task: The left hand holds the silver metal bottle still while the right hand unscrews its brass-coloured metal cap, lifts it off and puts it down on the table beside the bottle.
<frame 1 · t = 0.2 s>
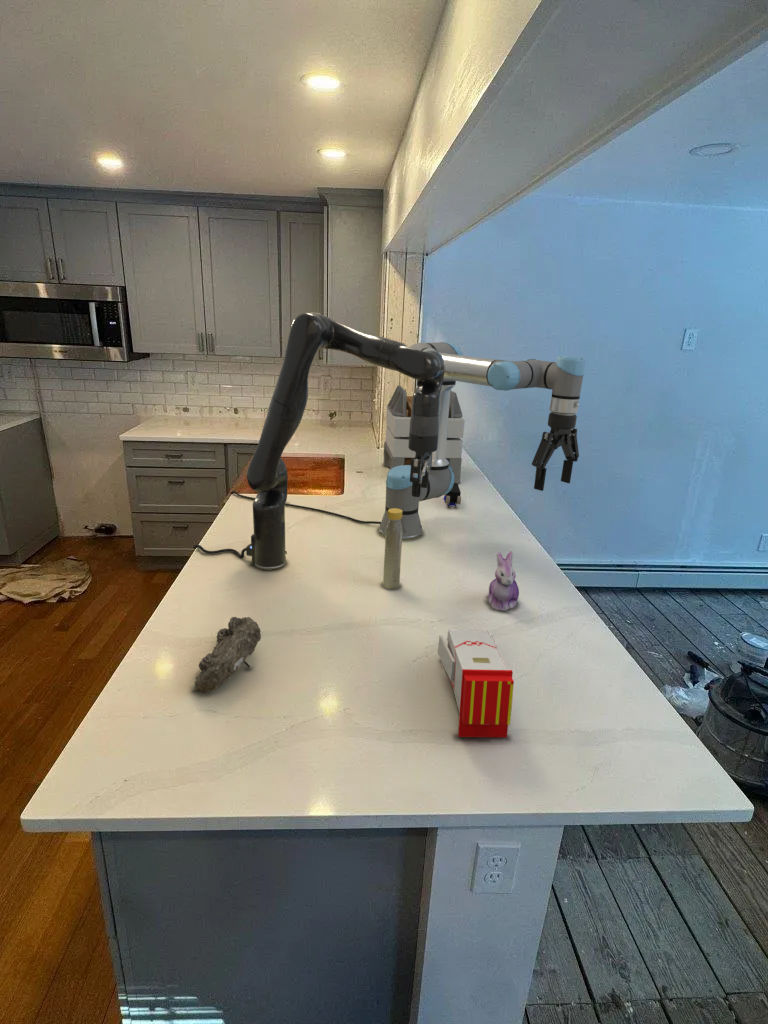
left hand: (419, 491, 151), 29 cm above the counter, tool pointing down, fingers open, 8 cm apart
right hand: (552, 485, 166), 28 cm above the counter, tool pointing down, fingers open, 13 cm apart
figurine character: (450, 504, 233), on the counter
toy: (469, 691, 119), on the counter
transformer: (419, 473, 275), on the counter
figurine: (502, 603, 155), on the counter
cap: (395, 511, 155), point 23 cm above the counter, screwed on, not yet turned
bottle: (391, 585, 163), on the counter
fossil: (232, 665, 124), on the counter
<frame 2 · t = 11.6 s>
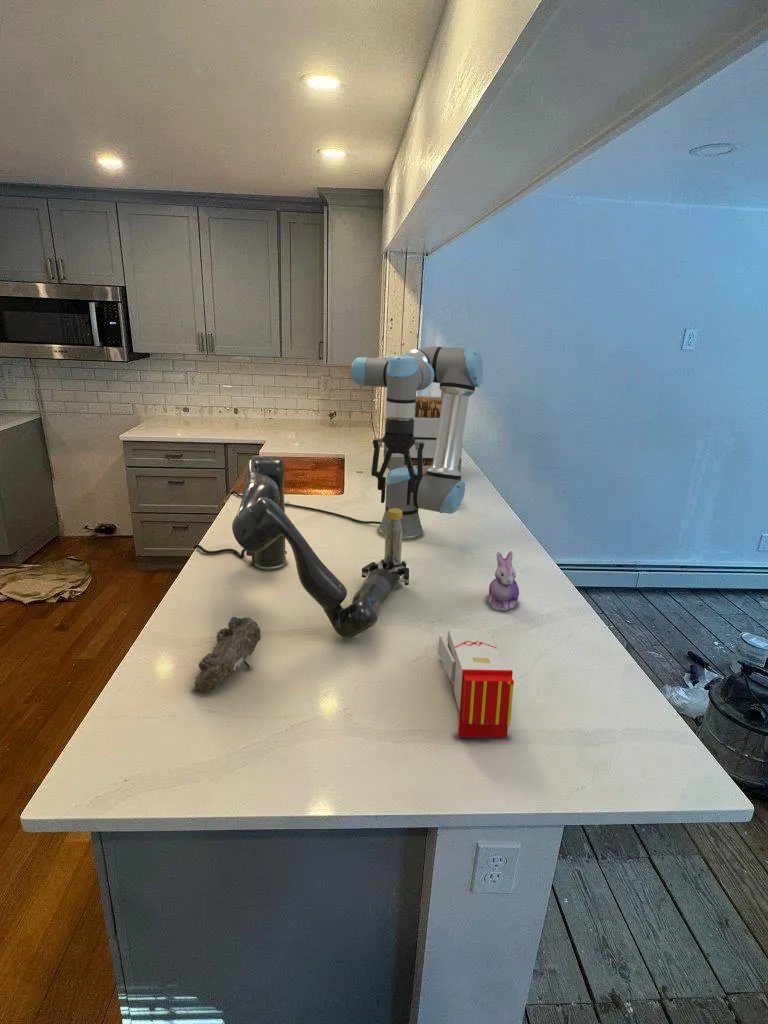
left hand: (394, 562, 163), 6 cm above the counter, tool horizontal, fingers closed on bottle, 4 cm apart
right hand: (395, 502, 154), 25 cm above the counter, tool pointing down, fingers open, 6 cm apart
bottle: (391, 585, 163), on the counter, touching left hand
everything else where it was.
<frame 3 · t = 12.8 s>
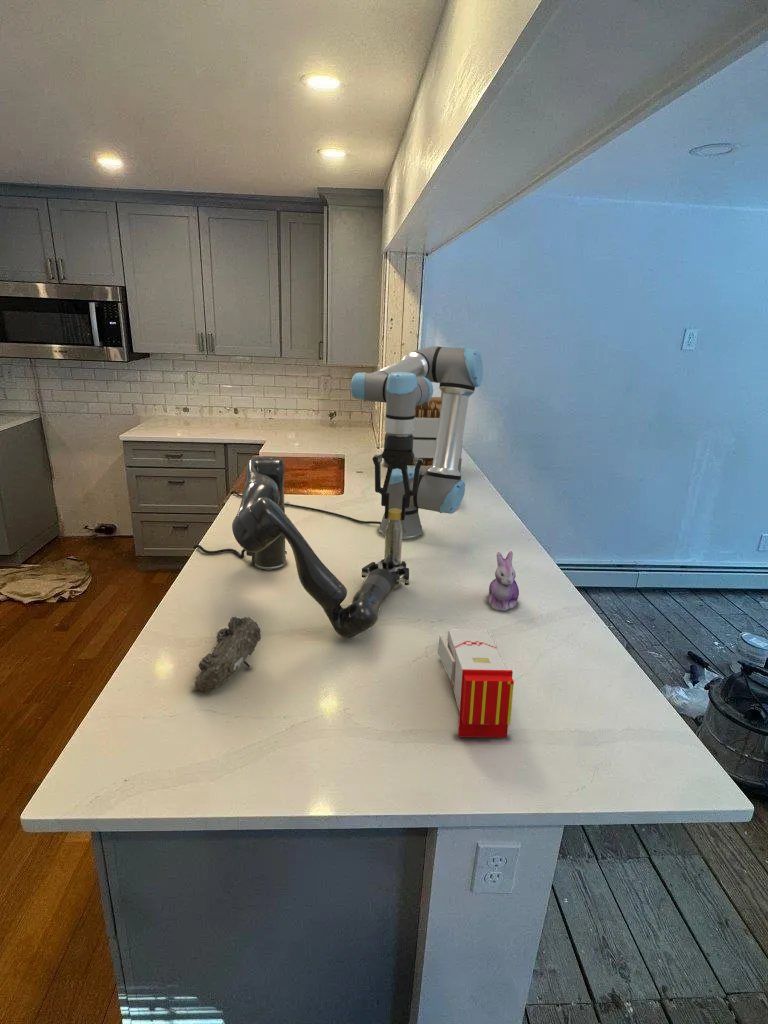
left hand: (394, 562, 163), 6 cm above the counter, tool horizontal, fingers closed on bottle, 4 cm apart
right hand: (394, 517, 156), 21 cm above the counter, tool pointing down, fingers closed on cap, 4 cm apart
cap: (395, 511, 155), point 23 cm above the counter, screwed on, not yet turned, touching right hand
bottle: (391, 585, 163), on the counter, touching left hand
everything else where it was.
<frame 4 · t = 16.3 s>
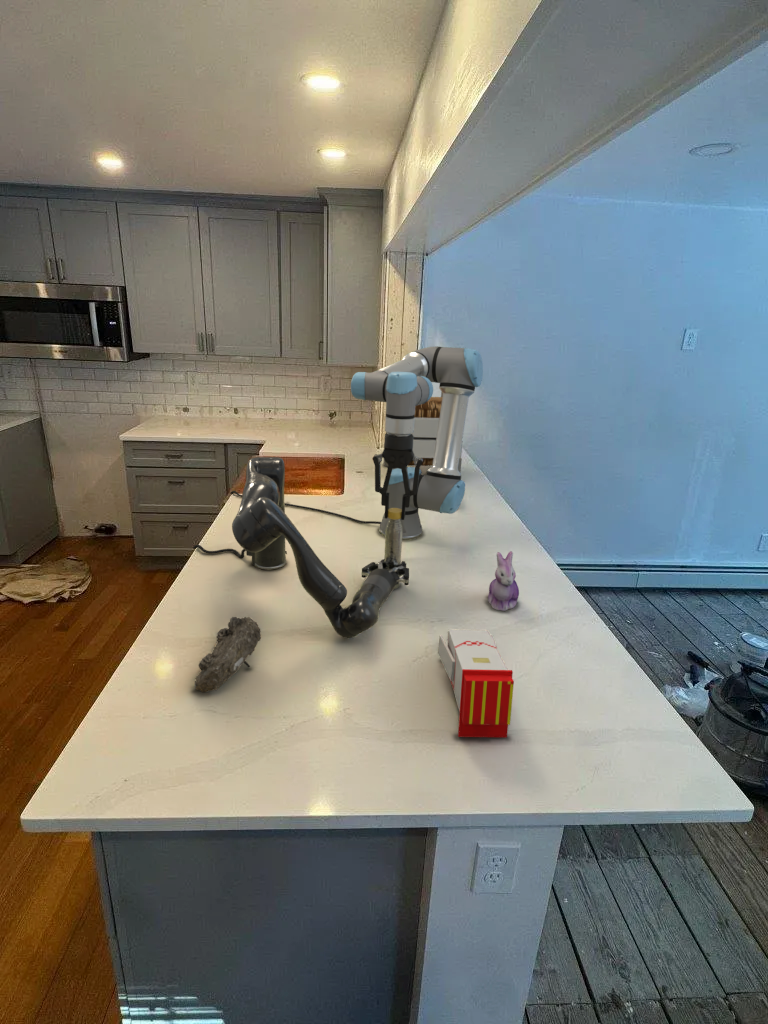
left hand: (394, 562, 163), 6 cm above the counter, tool horizontal, fingers closed on bottle, 4 cm apart
right hand: (394, 517, 155), 21 cm above the counter, tool pointing down, fingers closed on cap, 4 cm apart
cap: (395, 511, 155), point 23 cm above the counter, turned 113° so far, risen 0.1 cm, still on its thread, touching right hand
bottle: (391, 585, 163), on the counter, touching left hand
everything else where it was.
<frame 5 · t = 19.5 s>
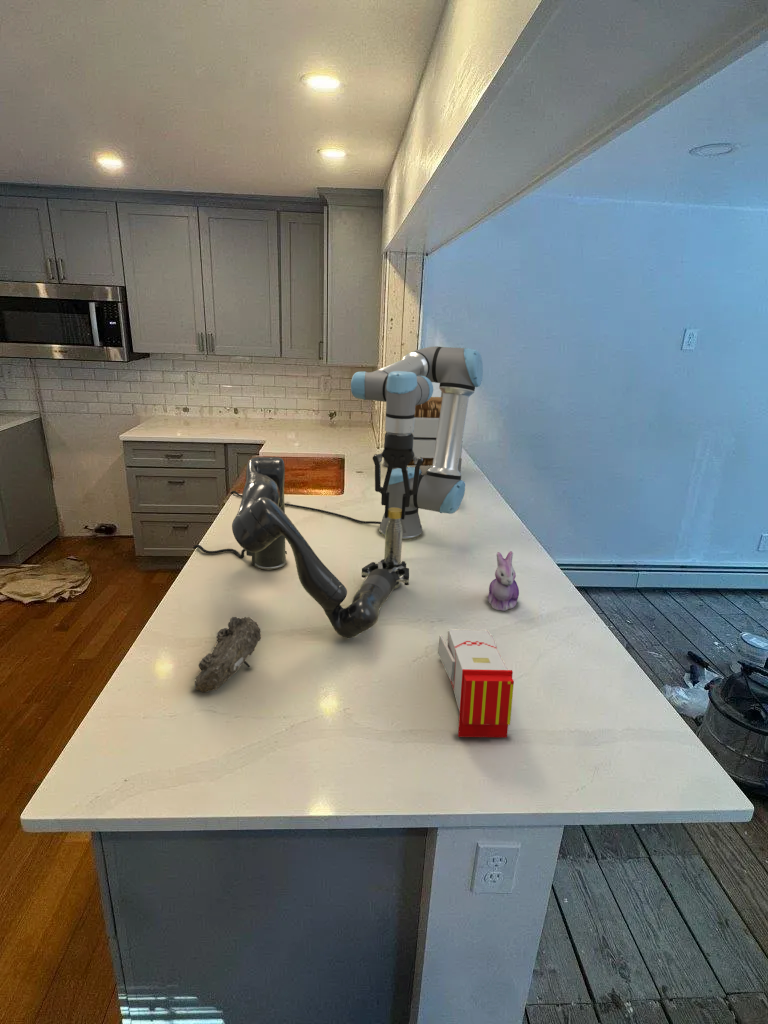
left hand: (394, 562, 163), 6 cm above the counter, tool horizontal, fingers closed on bottle, 4 cm apart
right hand: (394, 516, 155), 21 cm above the counter, tool pointing down, fingers closed on cap, 4 cm apart
cap: (395, 510, 155), point 23 cm above the counter, turned 225° so far, risen 0.2 cm, still on its thread, touching right hand
bottle: (391, 585, 163), on the counter, touching left hand
everything else where it was.
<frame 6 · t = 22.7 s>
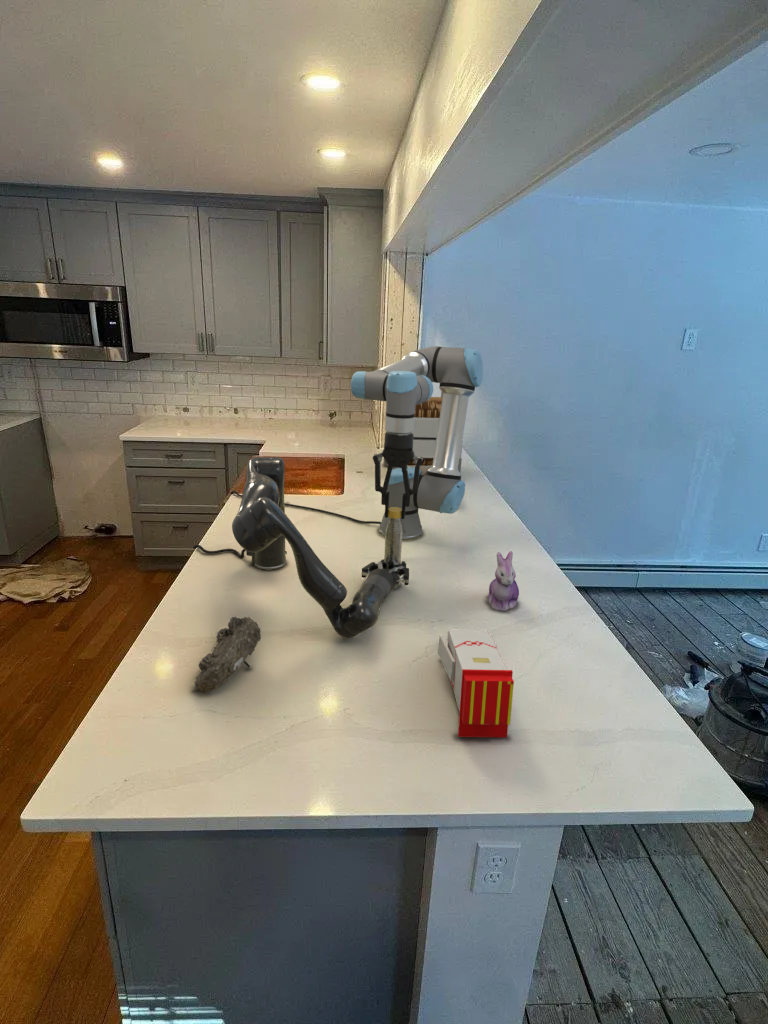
left hand: (394, 562, 163), 6 cm above the counter, tool horizontal, fingers closed on bottle, 4 cm apart
right hand: (394, 516, 155), 21 cm above the counter, tool pointing down, fingers closed on cap, 4 cm apart
cap: (395, 510, 155), point 23 cm above the counter, turned 338° so far, risen 0.3 cm, still on its thread, touching right hand
bottle: (391, 585, 163), on the counter, touching left hand
everything else where it was.
when the right hand's fingers open (1 cm above the counter, at t = 30.1 s): cap drops 1 cm, point 2 cm above the counter.
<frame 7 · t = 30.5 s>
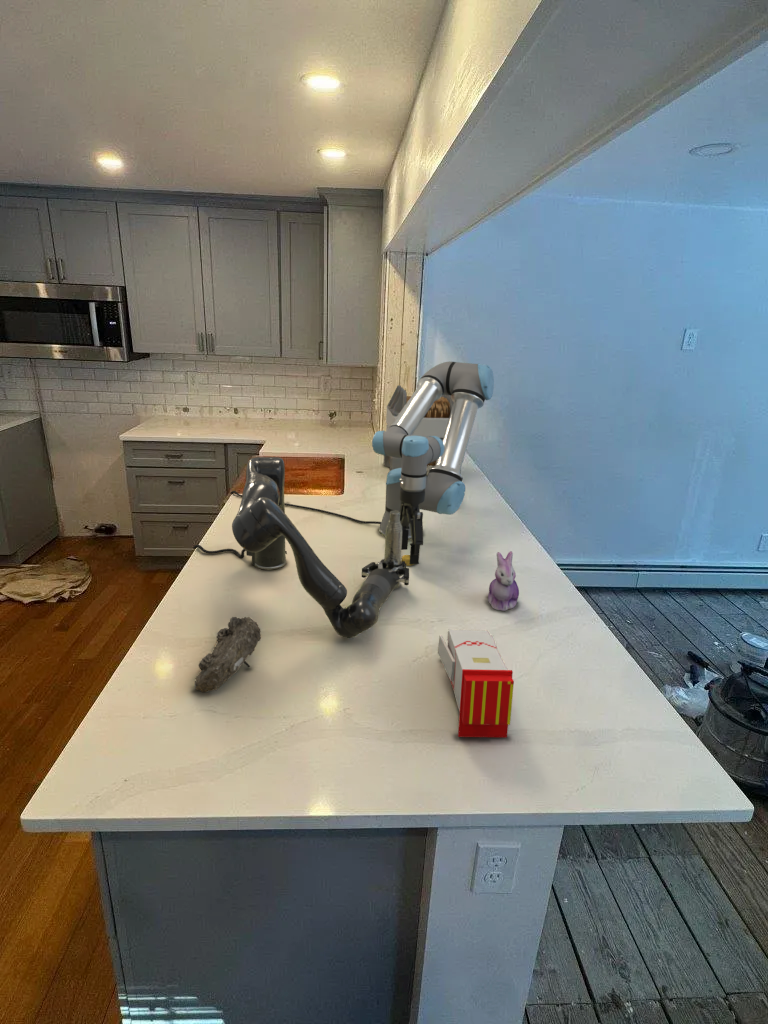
left hand: (394, 562, 163), 6 cm above the counter, tool horizontal, fingers closed on bottle, 4 cm apart
right hand: (408, 556, 177), 2 cm above the counter, tool pointing down, fingers open, 10 cm apart
cap: (408, 558, 177), point 2 cm above the counter, off its thread
bottle: (391, 585, 163), on the counter, touching left hand
everything else where it was.
when the left hand's fingers open (6 cm above the counter, at t = 31.4 s): bottle stays where it is, on the counter.
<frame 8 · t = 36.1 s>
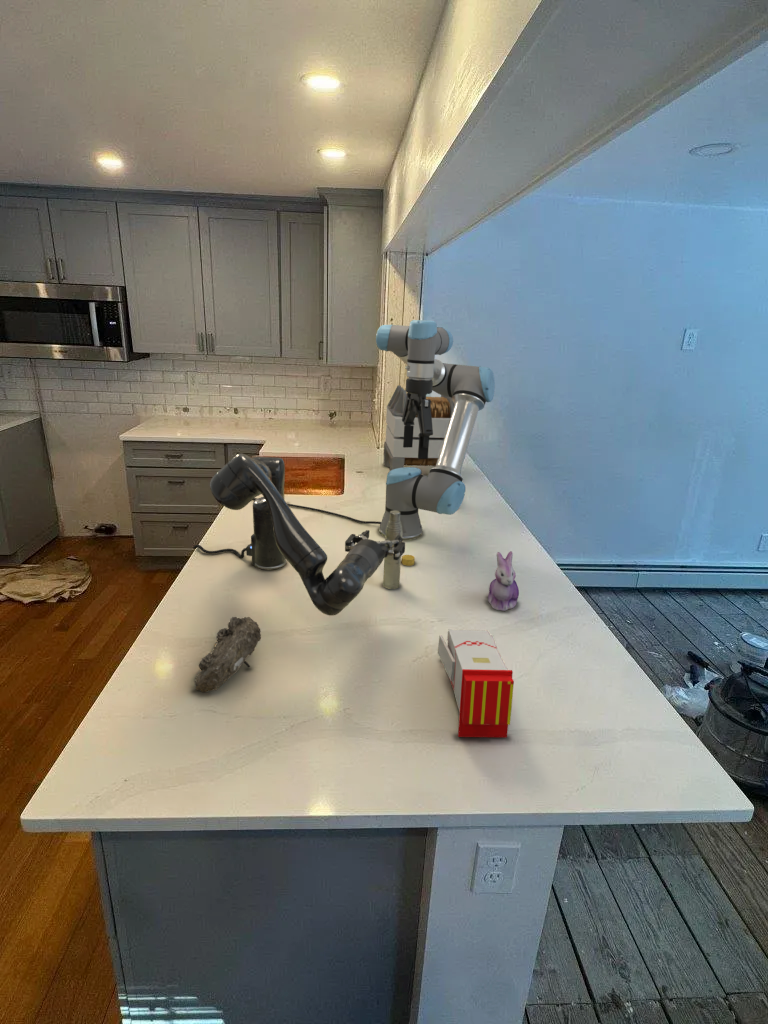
left hand: (383, 536, 146), 19 cm above the counter, tool horizontal, fingers open, 8 cm apart
right hand: (414, 452, 165), 35 cm above the counter, tool pointing down, fingers open, 13 cm apart
bottle: (391, 585, 163), on the counter
everything else where it was.
at the end: cap came off its thread; cap point 1.7 cm above the counter; the left hand is holding nothing; the right hand is holding nothing; bottle tilted 0°; bottle moved 0.0 cm from its start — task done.
